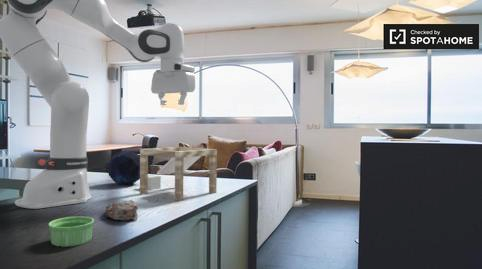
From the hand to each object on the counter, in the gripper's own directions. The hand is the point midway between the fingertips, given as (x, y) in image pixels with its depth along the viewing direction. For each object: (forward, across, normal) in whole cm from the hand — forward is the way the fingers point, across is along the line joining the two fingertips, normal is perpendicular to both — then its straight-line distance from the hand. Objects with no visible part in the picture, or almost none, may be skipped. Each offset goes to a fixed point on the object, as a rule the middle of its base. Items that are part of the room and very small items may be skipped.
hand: (172, 104), depth 137 cm
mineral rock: (+34, +16, -35) cm, 51 cm away
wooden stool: (+33, +4, 0) cm, 33 cm away
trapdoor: (+22, +5, 0) cm, 23 cm away
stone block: (+31, -15, 0) cm, 34 cm away
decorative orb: (+33, -27, 0) cm, 43 cm away
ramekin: (+34, +25, -54) cm, 68 cm away
